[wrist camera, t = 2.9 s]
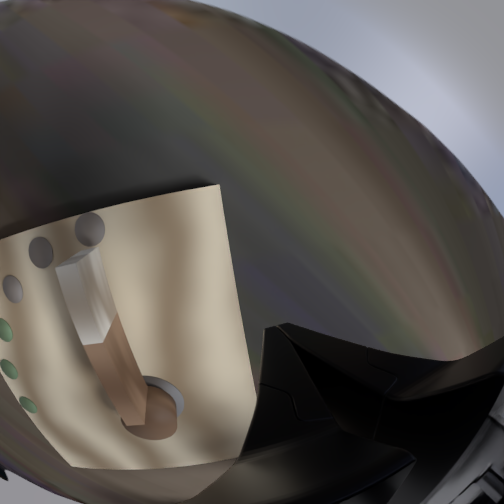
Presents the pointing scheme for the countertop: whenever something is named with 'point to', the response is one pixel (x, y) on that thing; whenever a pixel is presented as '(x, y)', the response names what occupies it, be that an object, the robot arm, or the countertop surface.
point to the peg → (113, 348)
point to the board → (132, 331)
